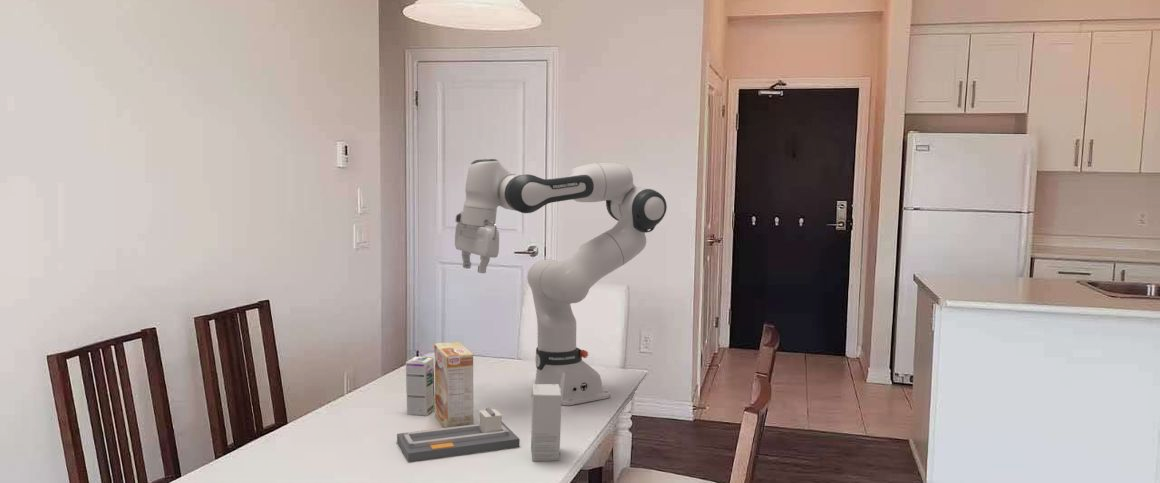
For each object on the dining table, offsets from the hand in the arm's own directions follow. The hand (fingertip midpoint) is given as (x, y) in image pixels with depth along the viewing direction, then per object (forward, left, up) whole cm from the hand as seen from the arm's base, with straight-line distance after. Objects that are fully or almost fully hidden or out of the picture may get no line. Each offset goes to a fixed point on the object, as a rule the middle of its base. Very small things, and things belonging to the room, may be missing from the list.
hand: (473, 270), depth 212 cm
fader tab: (+3, +26, -36) cm, 44 cm away
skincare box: (-6, +40, -38) cm, 55 cm away
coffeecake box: (+8, +10, -38) cm, 40 cm away
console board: (+11, +26, -38) cm, 47 cm away
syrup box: (+14, -2, -38) cm, 41 cm away
